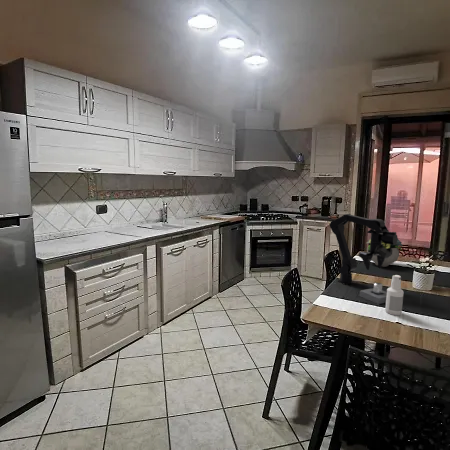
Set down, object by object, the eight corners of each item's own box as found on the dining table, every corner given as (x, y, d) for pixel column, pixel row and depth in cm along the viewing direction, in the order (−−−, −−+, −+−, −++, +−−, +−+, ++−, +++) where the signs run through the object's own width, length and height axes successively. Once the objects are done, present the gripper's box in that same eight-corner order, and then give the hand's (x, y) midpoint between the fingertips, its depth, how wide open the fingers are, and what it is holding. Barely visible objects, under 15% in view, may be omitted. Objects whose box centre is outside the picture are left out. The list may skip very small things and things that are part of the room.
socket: (359, 295, 168) (359, 290, 168) (375, 292, 173) (375, 287, 173) (378, 304, 157) (378, 298, 157) (394, 300, 162) (395, 295, 162)
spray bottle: (395, 316, 143) (399, 279, 140) (382, 311, 149) (385, 274, 146) (404, 313, 146) (408, 277, 144) (391, 308, 152) (394, 273, 150)
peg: (370, 297, 166) (372, 283, 165) (376, 296, 168) (377, 282, 167) (377, 300, 163) (378, 285, 162) (382, 299, 164) (384, 284, 163)
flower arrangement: (367, 259, 247) (369, 229, 244) (402, 264, 233) (406, 232, 229) (359, 266, 227) (362, 233, 224) (398, 272, 213) (401, 237, 209)
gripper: (376, 245, 162) (373, 274, 165) (400, 243, 170) (398, 271, 172) (359, 242, 173) (357, 269, 175) (383, 239, 180) (380, 265, 182)
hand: (373, 268), depth 176 cm, fingers open, 9 cm apart
